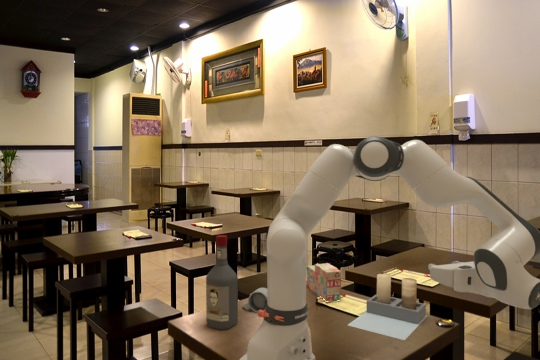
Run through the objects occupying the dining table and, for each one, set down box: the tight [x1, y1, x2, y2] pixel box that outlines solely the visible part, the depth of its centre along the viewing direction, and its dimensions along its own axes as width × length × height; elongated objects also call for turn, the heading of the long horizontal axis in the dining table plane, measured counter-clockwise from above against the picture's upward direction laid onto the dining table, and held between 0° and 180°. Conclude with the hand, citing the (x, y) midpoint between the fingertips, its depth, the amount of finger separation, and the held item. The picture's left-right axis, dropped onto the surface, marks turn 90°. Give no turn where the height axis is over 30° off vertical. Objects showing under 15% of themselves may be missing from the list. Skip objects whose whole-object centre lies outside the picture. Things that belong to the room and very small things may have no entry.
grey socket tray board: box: [347, 273, 428, 341], centre depth 141 cm, size 24×19×14 cm
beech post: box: [401, 277, 418, 310], centre depth 144 cm, size 5×5×10 cm
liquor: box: [205, 234, 239, 331], centre depth 140 cm, size 9×9×30 cm
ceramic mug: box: [242, 287, 267, 313], centre depth 155 cm, size 11×8×8 cm
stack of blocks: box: [306, 262, 342, 301], centre depth 172 cm, size 21×6×12 cm, turn 16°
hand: (441, 265), depth 126 cm, fingers open, 8 cm apart
